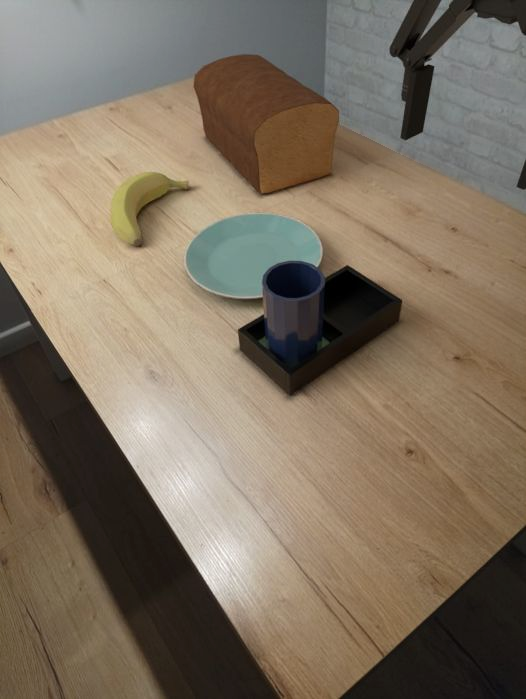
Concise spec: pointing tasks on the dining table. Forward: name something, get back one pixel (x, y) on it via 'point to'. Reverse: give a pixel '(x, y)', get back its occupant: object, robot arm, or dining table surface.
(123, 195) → the banana
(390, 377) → the dining table surface
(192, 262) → the plate
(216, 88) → the bread
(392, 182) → the dining table surface
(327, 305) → the tray
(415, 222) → the dining table surface
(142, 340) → the dining table surface
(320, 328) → the cup
